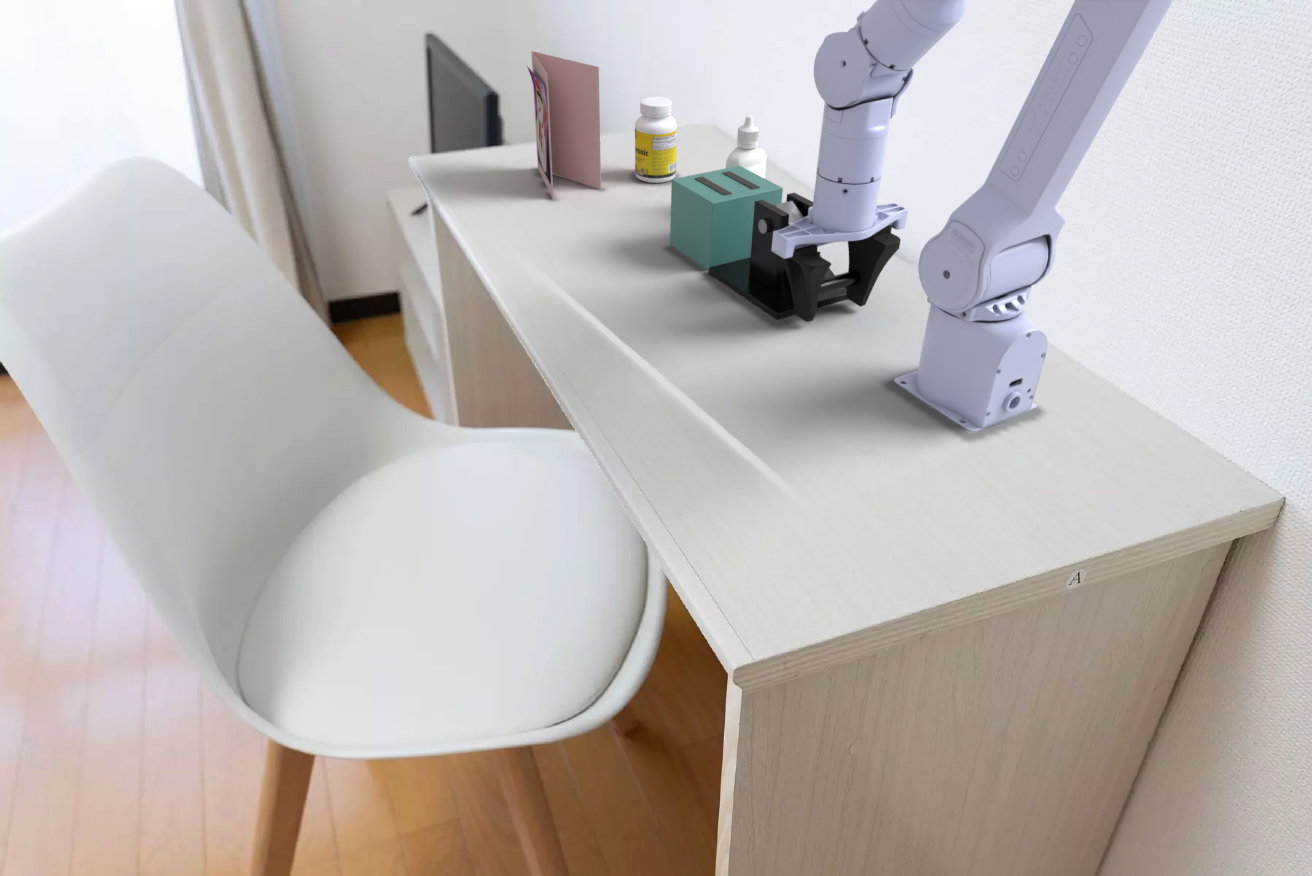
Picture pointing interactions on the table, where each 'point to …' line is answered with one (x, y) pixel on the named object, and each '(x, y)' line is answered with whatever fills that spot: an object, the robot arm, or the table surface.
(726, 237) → the toaster
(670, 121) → the supplement bottle
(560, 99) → the greeting card
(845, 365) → the table surface
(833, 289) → the lever
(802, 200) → the switch bracket
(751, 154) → the eye dropper bottle
